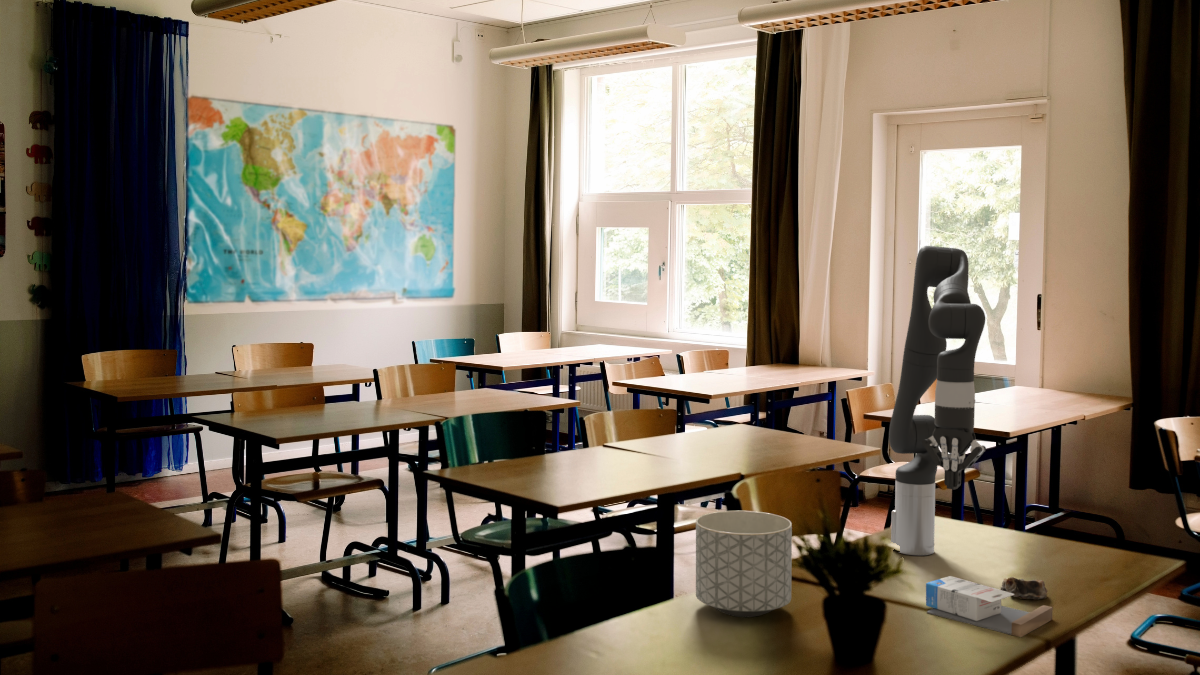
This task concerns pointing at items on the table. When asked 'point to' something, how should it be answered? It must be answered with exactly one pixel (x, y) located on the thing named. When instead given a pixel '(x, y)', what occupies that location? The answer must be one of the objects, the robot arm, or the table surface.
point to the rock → (1025, 588)
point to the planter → (743, 562)
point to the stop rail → (1031, 621)
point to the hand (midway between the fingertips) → (952, 488)
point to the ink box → (964, 598)
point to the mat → (988, 619)
